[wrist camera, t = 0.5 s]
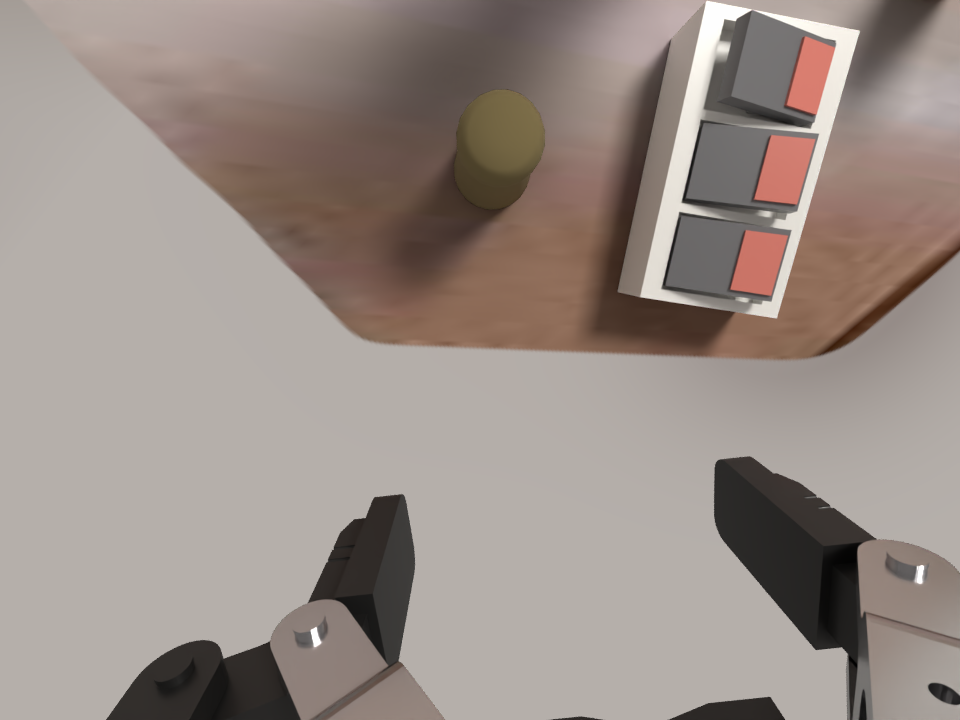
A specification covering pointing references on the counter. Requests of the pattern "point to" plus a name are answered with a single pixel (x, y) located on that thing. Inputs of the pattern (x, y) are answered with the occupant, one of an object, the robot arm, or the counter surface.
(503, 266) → the counter surface
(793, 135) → the switch middle
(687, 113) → the white switch panel
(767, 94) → the switch
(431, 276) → the counter surface
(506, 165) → the cork
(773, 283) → the switch
